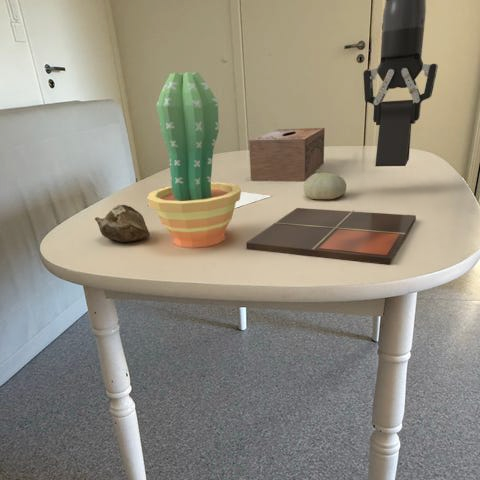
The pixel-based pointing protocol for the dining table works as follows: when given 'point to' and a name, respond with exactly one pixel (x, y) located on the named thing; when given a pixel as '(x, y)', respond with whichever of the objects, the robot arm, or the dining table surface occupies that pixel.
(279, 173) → the tissue box cover
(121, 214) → the fossilized seashell
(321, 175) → the sea urchin shell
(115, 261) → the dining table surface
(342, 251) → the board
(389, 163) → the phone stand
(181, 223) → the potted cactus
